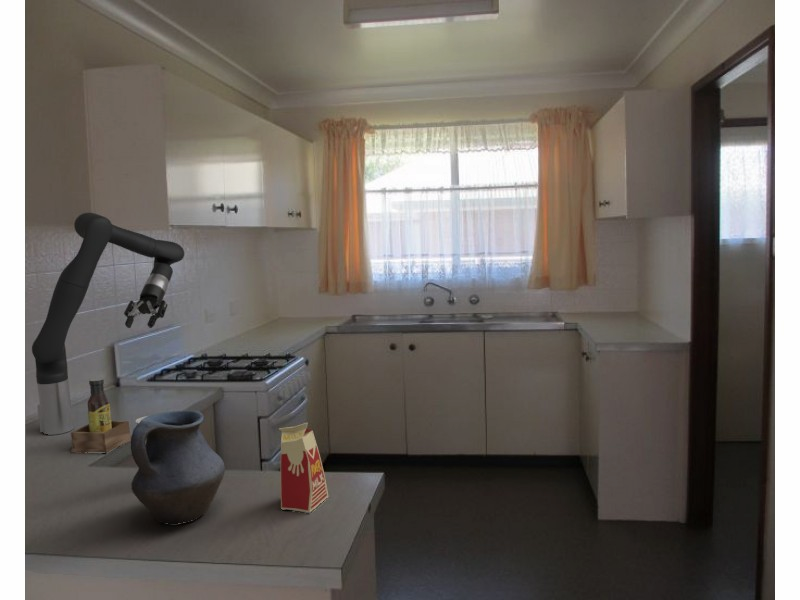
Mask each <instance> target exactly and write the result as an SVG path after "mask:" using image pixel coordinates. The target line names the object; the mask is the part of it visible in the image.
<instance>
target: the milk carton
mask: <svg viewBox="0 0 800 600" xmlns="http://www.w3.org/2000/svg"><path fill="white" fill-rule="evenodd" d="M278 430H280V431H281V439H280V468H279V469H280V509H294V510H295V509H296V510H300V511H306V512H311V511H312V510H313V509H315V508H316V507H317V506H318V505H319V504H320V503H322V502H323V501H324V500H325V499H326V498H328V497H329V492H328V486H327V481H326V476H325V471H324V467H323V463H322V458H321V454H320V450H319V448H318V445H317V441H316V438H315V435H314V431H313V429H310V428H309V427H308V422H304V423H302V424H298V425H296V426H289V427H281V428H280V427H279V428H278ZM329 498H330V497H329ZM329 498H328V499H329ZM325 501H326V500H325ZM325 501H324V502H325ZM324 502H323V503H324ZM323 503H322V504H323ZM315 510H316V509H315Z"/></svg>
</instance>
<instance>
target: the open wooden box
mask: <svg viewBox="0 0 800 600" xmlns="http://www.w3.org/2000/svg"><path fill="white" fill-rule="evenodd" d="M111 424H112V429H110V430H108V431H106V432H104V433H98V432H90V429H89V423H87V424H85V425H84V426H81V427H80V428H77V429H75V430H73V431H72V432H71V431H70V436H71V445H72V447H71V448H70V453H71V452H81V453H80V454H89V453H88V452H105V453H107V452H109V451H110V450H112V449H114V448H116V447H118V446H120V445H121V444H124V443H126V442H128V441H130V442H131V437H132V435H131V432H130V431H131V429H130V421H129V420H111ZM128 443H129V442H128ZM126 444H127V443H126ZM124 445H125V444H124ZM85 452H87V453H85Z"/></svg>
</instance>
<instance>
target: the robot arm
mask: <svg viewBox="0 0 800 600" xmlns="http://www.w3.org/2000/svg"><path fill="white" fill-rule="evenodd" d="M73 225H74V226H73V227H74V230H75V233H76V234H77V235H78V236H79V237H80V238H82V242H81V245H80V248H79V250H78V252H77V253H76V255H75V257H73V259H72V260H71V261H70V262H69V263H68V265H66V266H65V267H64V269H62V271H61V273H60V275H59V277H58V280H57V282H56V284H55V287H54V290H53V292H52V296H51V299H50V303H49V307H48V311H47V314H46V318H45V321H44V322H43V325H42V327H41V328H40V331H39V333H38V335H37V337H36V338H35V339H34V341H33V343H32V345H31V352H32V353H31V354H32V355H33V358H34V359H35V372H36V373H35V377H36V385H37V387H36V388H37V394H38V401H39V404H37V415H38V422H39V429H40V430H39V431H40V433H41V432H43V433H44V434H43V433H42V434H43V435H45V434H48V435H47V436H51V435H52V436H54V435H61V434H65V433H67V432H71V431H72V430H73V431H74V429H75V425H74V418H73V407H72V399H71V392H70V383H69V374H68V373H69V372H68V359H67V352H66V351H67V350H66V339H67V335H68V332H69V330H70V327H71V325H72V322H73V320H74V319H75V317H76V315H77V313H78V311H79V309H80V308H81V306H82V304H83V302H84V299H85V297H86V294H87V291H88V289H89V286H90V283H91V280H92V278H93V276H94V274H95V271H96V269H97V266H98V263H99V261H100V258H101V257H102V255H103V254H104V253H103V252H104V251H105V249H106V247H107V246H108V244H109V243H110V244H113V245H116V246H118V247H120V248H122V249H125V250H128V251H130V252H132V253H135V254H138V255H140V256H141V255H142V256H144V257H146V258H151V259H152V258H154V259H153V267H152V269H151V272H150V274H149V276H148V277H147V279H146V281H145V283H144V286H143V287H142V290H141V292H140V294H139V299H138V301H137V302H136V301H134V300H130V301H129V302H128V305H127V306H126V308H125V310H124V312H123V315H124V316H125V317H126V321H124V325H125V326H126V328H127V329H131V328H132V325H133V323H134V321H135V319H136V318H137V317H140V316H142V315H146V314H147V315H150V314H151V315H150V317H149V320H147V321H148V322H147V326H148V328H150V329H153V327H154V326H155V325H156V322H157V320H159V319H162V318H164V317H165V314H166V311H167V308H168V304H167V302H166V301H165V300H164V297H165V295H166V293H167V291H168V287H169V283H170V282H171V278H172V276H173V274H174V271H173V268H172V266H171V265H174V264H175V263H179V262H180V261H182V260H183V259H184V257H185V250H184V248H183V247H182V246H181V245H180V244H178V243H177V242H175V241H171V240H170V241H169V240H162V239H156V238H153V237H150V236H149V235H145V234H142V233H139V232H136V231H132V230H131V229H130V230H129V229H126V228H122V227H119V226H117V225H115V224H112V221H111V220H110V219H109V218H107V217H106V216H102V215H100V214H97V213H95V212H83V213H81V214H80V215H78V216H77V217H76V219H75V221H74V223H73Z"/></svg>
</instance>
